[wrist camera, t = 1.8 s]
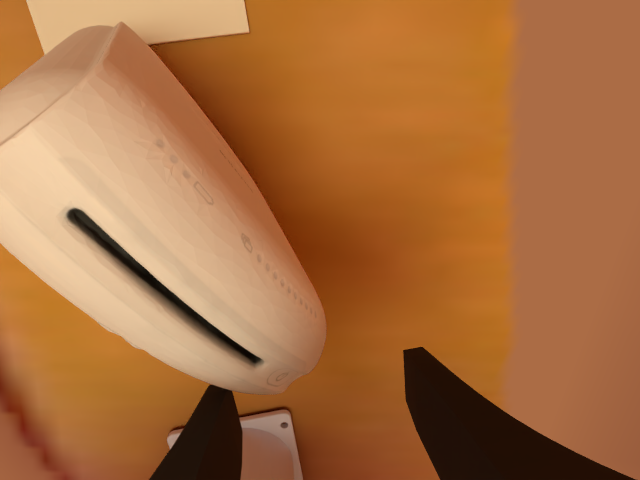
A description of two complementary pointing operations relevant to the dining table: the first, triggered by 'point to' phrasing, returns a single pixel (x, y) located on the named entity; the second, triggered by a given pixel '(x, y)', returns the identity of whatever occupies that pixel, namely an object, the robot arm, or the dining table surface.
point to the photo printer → (150, 216)
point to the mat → (139, 18)
